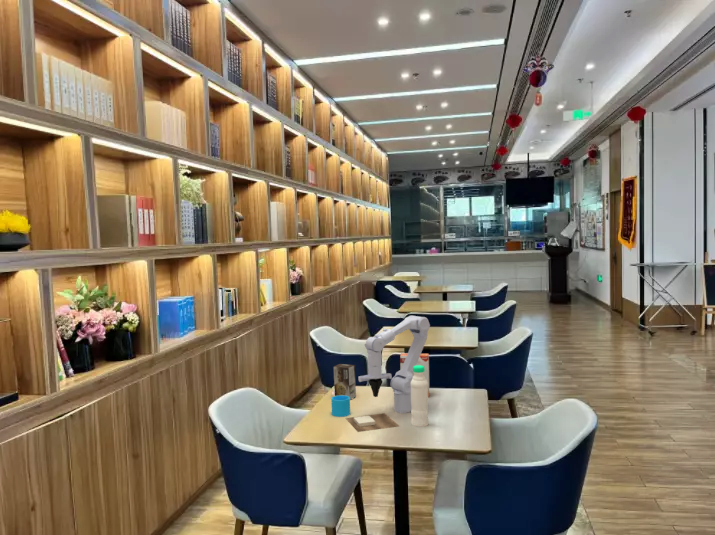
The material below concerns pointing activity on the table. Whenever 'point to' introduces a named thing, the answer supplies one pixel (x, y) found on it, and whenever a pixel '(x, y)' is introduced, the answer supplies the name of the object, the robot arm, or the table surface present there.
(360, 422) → the tile
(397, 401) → the robot arm
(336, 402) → the mug
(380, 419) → the board
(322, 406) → the table surface
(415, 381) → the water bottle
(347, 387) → the coffee box
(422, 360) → the cracker box
